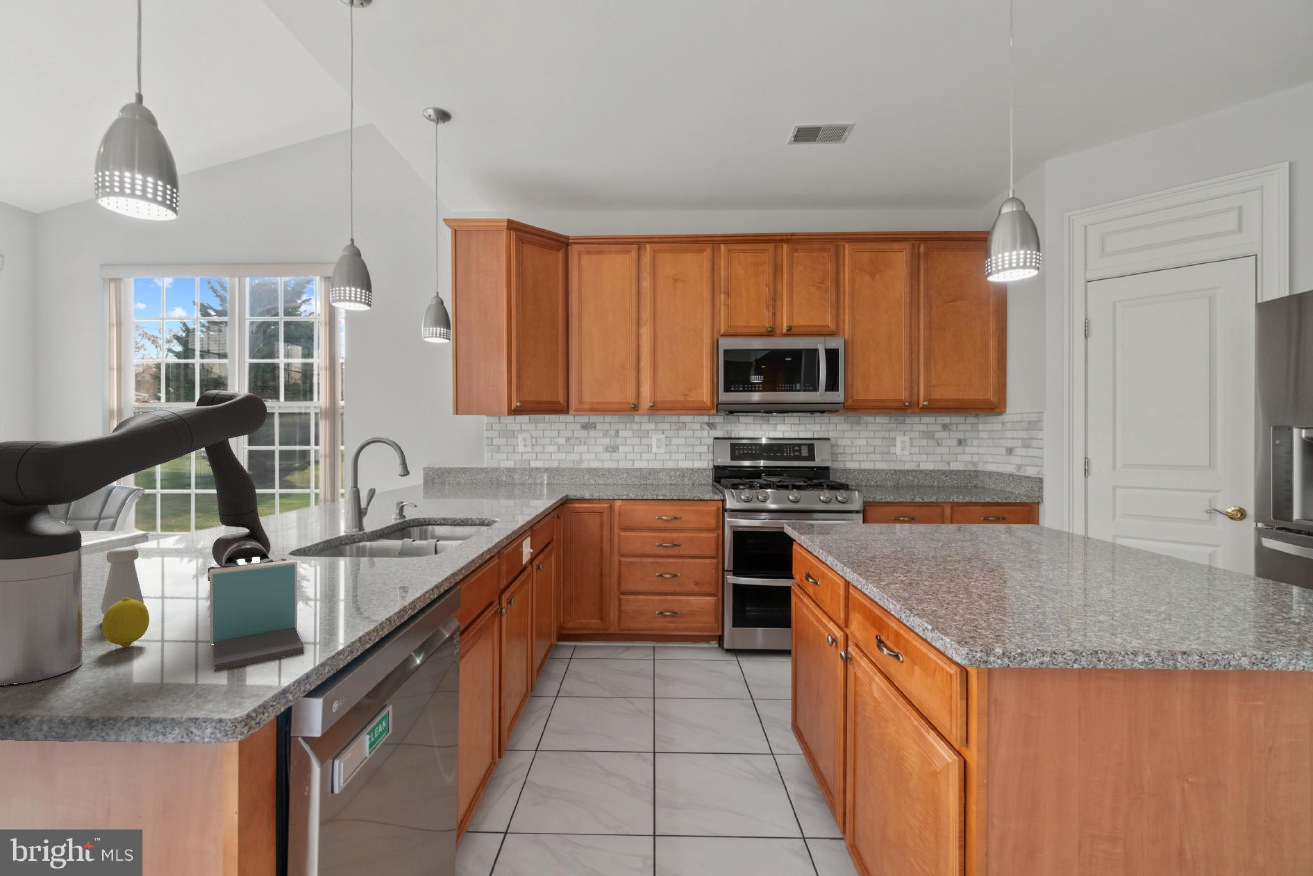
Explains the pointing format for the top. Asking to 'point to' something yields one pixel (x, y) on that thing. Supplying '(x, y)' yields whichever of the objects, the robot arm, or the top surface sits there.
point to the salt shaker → (121, 577)
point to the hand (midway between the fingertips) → (251, 578)
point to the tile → (252, 599)
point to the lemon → (125, 622)
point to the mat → (256, 648)
